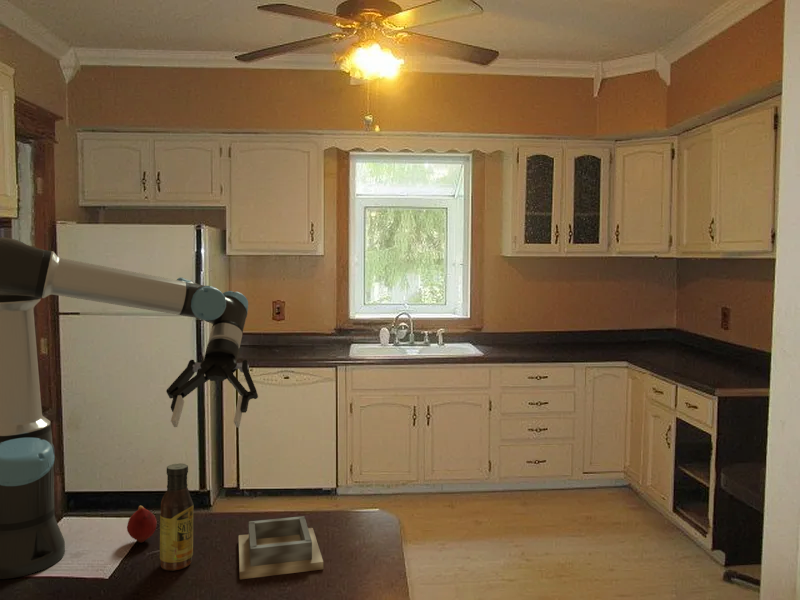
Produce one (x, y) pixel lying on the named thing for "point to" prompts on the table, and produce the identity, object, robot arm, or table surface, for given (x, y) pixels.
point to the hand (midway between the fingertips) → (205, 424)
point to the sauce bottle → (176, 520)
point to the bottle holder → (278, 548)
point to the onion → (141, 524)
